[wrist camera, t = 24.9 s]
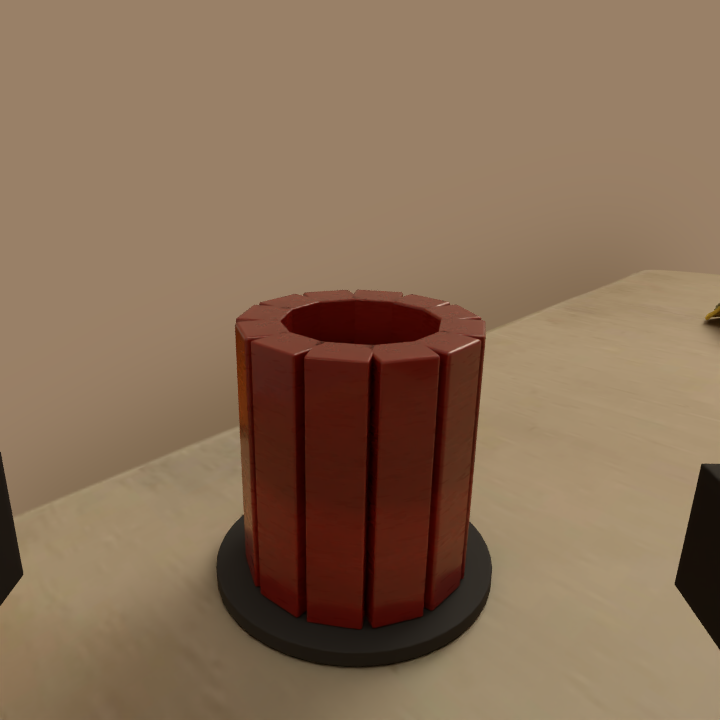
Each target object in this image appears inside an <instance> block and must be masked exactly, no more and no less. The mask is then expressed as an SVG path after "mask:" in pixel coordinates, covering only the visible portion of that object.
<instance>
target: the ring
mask: <svg viewBox="0 0 720 720" xmlns="http://www.w3.org/2000/svg"><path fill="white" fill-rule="evenodd" d="M235 335H236V356H237V378H238V399H239V419H240V442H241V463H242V484H243V506H244V527H245V548H246V559H247V562H248V565H249V568H250V572H251V575H252V578H253V581H254V584H255V586H256V587H260V592H261V594H262V595H263V596H265V597H266V598H268V599H269V600H271V601H272V602H274V603H275V604H277V605H278V606H280V607H281V608H283V609H284V610H286V611H287V612H289V613H290V614H292V615H293V616H295V617H296V618H298V617H300V616H301V615H302V614H304V613H305V612H306V611H307V622H310V623H317V624H324V625H331V626H338V627H344V628H351V629H358V630H361V629H362V627H363V623H364V619H365V615H366V617H367V619H368V621H369V622H370V624H371V626H372V628H379V627H383V626H387V625H391V624H395V623H399V622H403V621H407V620H411V619H415V618H419V617H422V616H423V610H424V608H426V609H428V610H429V611H433V610H434V609H435V608H436V607H437V606H438V605H439V604H441V603H442V602H443V601H444V600H445V599H446V598H447V597H448V596H449V595H450V594H451V593H452V592H453V591H454V590H456V589H457V588H458V587H459V585H460V579H463V578H464V573H465V562H466V551H467V540H468V529H469V517H470V506H471V495H472V484H473V473H474V462H475V450H476V439H477V428H478V417H479V406H480V395H481V383H482V372H483V361H484V350H485V339H486V331H485V321H483V320H481V317H479V316H477V315H475V314H473V313H472V312H470V311H468V310H466V309H464V308H462V307H460V306H458V305H450V303H449V302H446V301H441V300H437V299H432V298H427V297H423V296H418V295H413V294H411V295H407V296H404V297H403V293H402V292H386V291H370V290H356V292H355V293H354V294H353V293H351V292H350V291H348V290H339V291H338V290H337V291H323V292H307V293H304V294H303V296H302V295H297V294H293V295H289V296H285V297H281V298H277V299H273V300H268V301H264V302H260V304H259V305H254V306H252V307H251V308H249V309H248V310H247V311H246V312H244V313H243V314H242V315H240V316H239V317H238V318H237V319H236V324H235Z"/></svg>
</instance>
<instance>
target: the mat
mask: <svg viewBox="0 0 720 720" xmlns="http://www.w3.org/2000/svg"><path fill="white" fill-rule="evenodd" d="M491 574H492V564H491V557H490V554H489V551H488V548H487V545H486V543H485V541H484V540H483V538H482V536H481V534H480V533H479V532H478V531H477V529H476V528H475V527H474V526H473V525H472V524H471V523H470V522H469V529H468V540H467V551H466V562H465V573H464V578H463V579H460V585H459V587H458V588H457V589H456V590H454V591H453V592H452V593H451V594H450V595H449V596H448V597H447V598H446V599H445V600H444V601H443V602H442V603H441V604H439V605H438V606H437V607H436V608H435V609H434V610H433V611H429V610H428V609H426V608H424V610H423V616H422V617H419V618H415V619H411V620H407V621H403V622H399V623H395V624H391V625H387V626H383V627H379V628H372V626H371V624H370V622H369V621H368V619H367V617H366V615H365V619H364V623H363V627H362V629H361V630H358V629H351V628H344V627H338V626H331V625H324V624H317V623H310V622H307V611H306V612H305V613H304V614H302V615H301V616H300V617H298V618H296V617H295V616H293V615H292V614H290V613H289V612H287V611H286V610H284V609H283V608H281V607H280V606H278V605H277V604H275V603H274V602H272V601H271V600H269V599H268V598H266V597H265V596H263V595H262V594H261V592H260V587H256V586H255V584H254V581H253V578H252V575H251V572H250V568H249V565H248V562H247V559H246V548H245V527H244V515H243V516H242V517H241V518H240V519H239V520H238V521H237V522H236V523H235V524H234V525H233V526H232V527H231V529H230V530H229V531H228V533H227V534H226V536H225V538H224V540H223V542H222V544H221V546H220V549H219V553H218V556H217V580H218V587H219V592H220V595H221V597H222V600H223V603H224V604H225V606H226V608H227V609H228V611H229V613H230V614H231V615H232V617H233V618H234V619H235V620H236V621H237V622H238V624H239V625H240V626H241V627H242V628H244V629H245V630H246V631H247V632H248V633H250V634H251V635H252V636H253V637H255V638H256V639H258V640H260V641H261V642H263V643H264V644H266V645H268V646H270V647H272V648H274V649H276V650H278V651H281V652H283V653H285V654H288V655H291V656H294V657H297V658H300V659H303V660H308V661H313V662H318V663H322V664H330V665H340V666H373V665H383V664H390V663H395V662H400V661H405V660H409V659H412V658H415V657H418V656H421V655H424V654H427V653H429V652H431V651H434V650H436V649H438V648H440V647H442V646H444V645H446V644H447V643H449V642H450V641H452V640H453V639H455V638H457V637H458V636H459V635H460V634H462V633H463V632H464V631H465V630H466V629H467V628H468V627H470V626H471V624H472V623H473V622H474V621H475V619H476V618H477V617H478V616H479V614H480V613H481V611H482V609H483V607H484V605H485V604H486V601H487V598H488V595H489V592H490V585H491Z"/></svg>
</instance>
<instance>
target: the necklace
mask: <svg viewBox="0 0 720 720" xmlns="http://www.w3.org/2000/svg"><path fill="white" fill-rule="evenodd" d="M711 317H720V303H719V304H718V305H717V306H716V309H714V311H713V312H711V313H709V314H707V316H706V317H705V319H706V320H708V319H710V318H711Z"/></svg>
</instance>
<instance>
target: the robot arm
mask: <svg viewBox="0 0 720 720" xmlns="http://www.w3.org/2000/svg"><path fill="white" fill-rule="evenodd" d="M22 576H23V569H22V564H21V559H20V553H19V548H18V543H17V537H16V532H15V527H14V521H13V516H12V510H11V505H10V500H9V494H8V489H7V484H6V479H5V473H4V468H3V462H2V457H1V452H0V606H1V604H2V603H3V601H4V600H5V599H6V597H7V596H8V595H9V593H10V592H11V591H12V589H13V588H14V587H15V585H16V584H17V583H18V581H19V580H20V579H21V577H22ZM675 586H676V587H677V589H678V590H679V591H680V593H681V594H682V596H683V597H684V599H685V600H686V602H687V603H688V604H689V606H690V607H691V609H692V610H693V612H694V613H695V615H696V616H697V618H698V619H699V620H700V622H701V623H702V625H703V626H704V628H705V629H706V631H707V632H708V633H709V635H710V636H711V638H712V639H713V641H714V642H715V644H716V645H717V646H718V648H719V649H720V464H701V469H700V473H699V478H698V482H697V487H696V491H695V495H694V500H693V504H692V509H691V513H690V518H689V522H688V527H687V531H686V535H685V540H684V544H683V549H682V553H681V558H680V562H679V567H678V571H677V575H676V580H675Z"/></svg>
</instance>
